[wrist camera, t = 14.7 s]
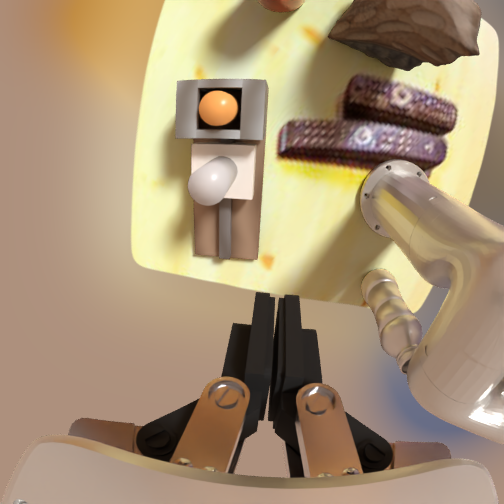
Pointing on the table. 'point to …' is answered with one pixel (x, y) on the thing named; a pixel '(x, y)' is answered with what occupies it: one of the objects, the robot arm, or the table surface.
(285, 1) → the soda can
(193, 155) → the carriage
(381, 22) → the brown rock
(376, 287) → the plastic bottle
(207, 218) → the rail base
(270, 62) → the table surface
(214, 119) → the button
